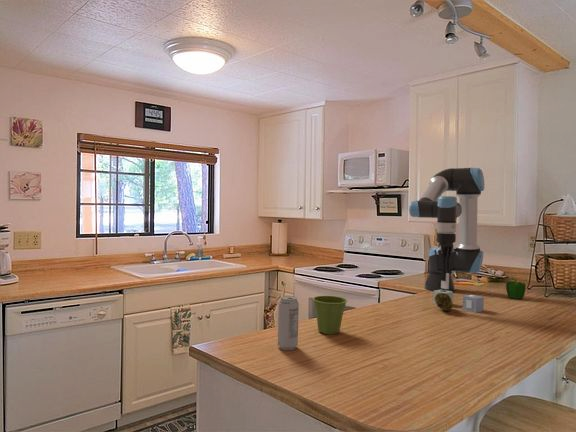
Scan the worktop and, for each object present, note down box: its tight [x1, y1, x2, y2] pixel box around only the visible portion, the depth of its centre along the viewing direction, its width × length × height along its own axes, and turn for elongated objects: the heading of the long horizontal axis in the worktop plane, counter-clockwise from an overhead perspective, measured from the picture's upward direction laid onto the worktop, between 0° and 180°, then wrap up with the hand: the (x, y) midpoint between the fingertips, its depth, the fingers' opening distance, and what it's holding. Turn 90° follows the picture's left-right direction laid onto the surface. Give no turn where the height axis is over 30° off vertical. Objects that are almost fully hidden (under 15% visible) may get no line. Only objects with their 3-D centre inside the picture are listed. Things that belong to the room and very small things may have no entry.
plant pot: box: [312, 295, 349, 336], centre depth 148 cm, size 12×12×11 cm
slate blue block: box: [462, 294, 485, 314], centre depth 186 cm, size 6×6×6 cm
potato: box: [434, 293, 454, 312], centre depth 184 cm, size 8×13×8 cm, turn 138°
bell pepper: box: [505, 277, 527, 300], centre depth 214 cm, size 8×8×10 cm
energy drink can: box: [277, 295, 300, 351], centre depth 130 cm, size 6×6×15 cm
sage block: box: [432, 290, 454, 305], centre depth 196 cm, size 6×6×6 cm
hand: (444, 288), depth 184 cm, fingers closed
